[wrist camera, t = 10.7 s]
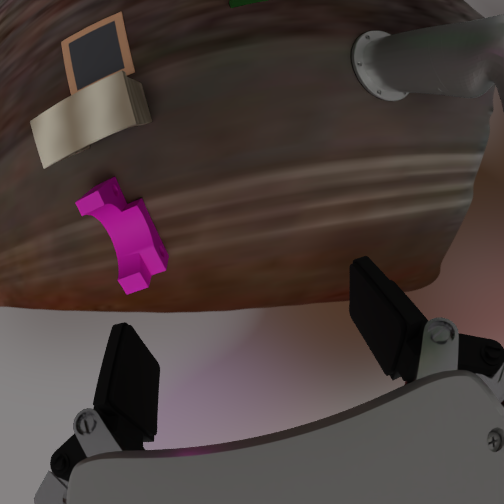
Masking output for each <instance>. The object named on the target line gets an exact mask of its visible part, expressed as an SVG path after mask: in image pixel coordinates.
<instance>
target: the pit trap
mask: <svg viewBox="0 0 504 504" xmlns="http://www.w3.org/2000/svg"><path fill="white" fill-rule="evenodd" d="M61 44H62V51H63V57H64V63H65V68H66V73H67V78H68V83H69V88H70V92H71V95H73V94H75V93H77V92H78V91H80V90H82V89H84V88H86V87H88V86H90V85H92V84H94V83H96V82H98V81H100V80H102V79H104V78H106V77H109V76H111V75H113V74H115V73H117V72H120V71H124V72H126V76H128V75H130V74H133V73H135V69H134V65H133V61H132V56H131V52H130V48H129V43H128V39H127V34H126V29H125V24H124V19H123V14H122V12H119V13H117V14H115V15H112V16H110V17H108V18H106V19H103V20H101V21H99V22H97V23H95V24H93V25H91V26H89V27H87V28H85V29H83V30H81V31H79V32H78V33H76V34H74V35H72V36H70V37H69V38H67V39H65V40H64V41H62V42H61Z"/></svg>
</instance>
